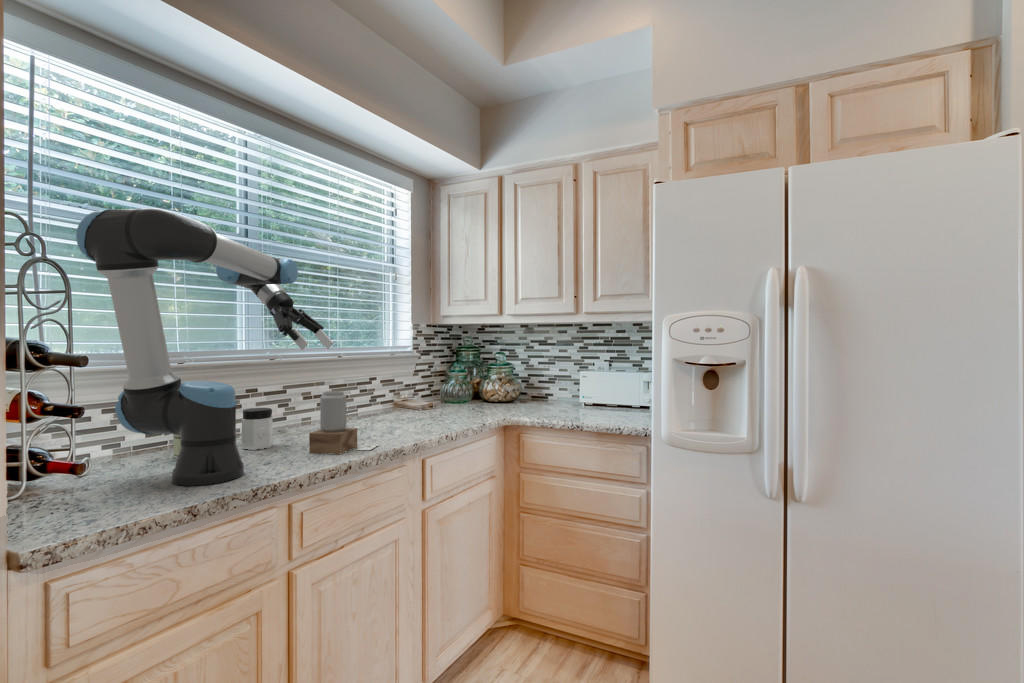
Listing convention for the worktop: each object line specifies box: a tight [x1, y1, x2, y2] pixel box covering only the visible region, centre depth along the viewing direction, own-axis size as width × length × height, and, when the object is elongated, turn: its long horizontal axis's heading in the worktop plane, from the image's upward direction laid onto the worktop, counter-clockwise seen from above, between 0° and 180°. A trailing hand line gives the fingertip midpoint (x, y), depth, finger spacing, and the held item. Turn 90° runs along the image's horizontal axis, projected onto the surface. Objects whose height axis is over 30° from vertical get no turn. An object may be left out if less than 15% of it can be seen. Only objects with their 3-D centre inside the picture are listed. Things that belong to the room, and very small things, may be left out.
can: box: [319, 390, 347, 432], centre depth 155 cm, size 8×8×12 cm
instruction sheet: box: [362, 444, 380, 448], centre depth 158 cm, size 8×5×1 cm, turn 176°
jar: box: [241, 407, 274, 451], centre depth 160 cm, size 9×8×12 cm
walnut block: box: [308, 427, 358, 455], centre depth 155 cm, size 10×10×6 cm
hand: (318, 346), depth 160 cm, fingers open, 13 cm apart
